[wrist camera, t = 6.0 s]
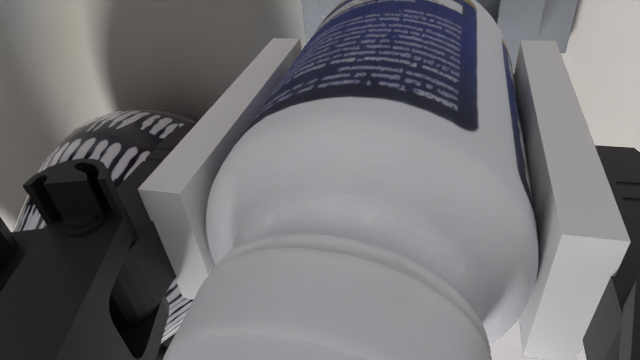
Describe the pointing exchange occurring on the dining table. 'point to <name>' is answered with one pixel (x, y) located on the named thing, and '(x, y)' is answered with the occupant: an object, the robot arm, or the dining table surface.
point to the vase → (116, 169)
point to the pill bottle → (374, 198)
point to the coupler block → (504, 7)
